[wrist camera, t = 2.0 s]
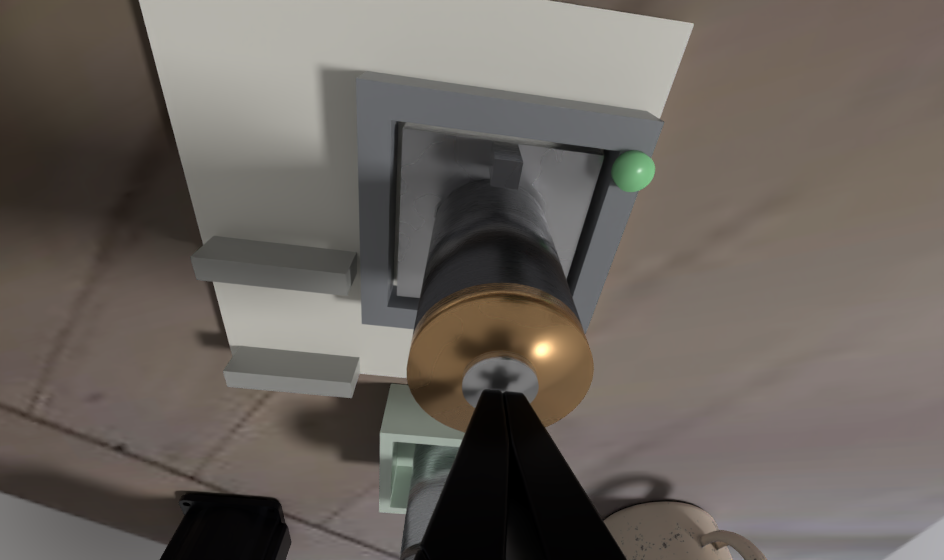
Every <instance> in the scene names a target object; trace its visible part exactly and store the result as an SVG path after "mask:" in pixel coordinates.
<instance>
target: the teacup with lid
mask: <svg viewBox="0 0 944 560" xmlns="http://www.w3.org/2000/svg"><path fill="white" fill-rule="evenodd" d="M604 523H605V525H606V526H607V528H608V529H609V531H610V533H611V534H612V536H613V537H614V539H615V541H616V542H617V544H618V546H619V547H620V549H621V550H622V552H623V554H624V555H625V557H626V559H627V560H733V559H732V557H731V555H730V552H729V550H728V548H727V546H728V545H730V546H732V547H733V548H734V549H735V550H737V551H738V552H739V553H740V555H741V556H742V557H743V558H744V559H745V560H767V558H766V557H765V556H764V555H763V553H762V552H761V551H760V550H759V549H758V548H757V547H756V546H755V545H754V544H753V543H751V542H750V541H749V540H747V539H746V538H744V537H743V536H741V535H739V534H736V533H733V532H729V531H724V530H719V529H718V526H717V524H716V522H715V521H714V519H713V518H712V517H711V516H710V515H709V514H708V513H707V512H706V511H704V510H702V509H701V508H699V507H696V506H693V505H690V504H686V503H680V502H668V501H664V502H650V503H644V504H639V505H635V506H631V507H628V508H625V509H623V510H620V511H618V512H616V513H614V514H612V515H611V516H609V517H608V518H606V519H605V520H604Z"/></svg>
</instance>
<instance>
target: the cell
mask: <svg viewBox="0 0 944 560" xmlns="http://www.w3.org/2000/svg"><path fill="white" fill-rule="evenodd" d="M406 370H407V381H408V386H409V389H410V391H411V394H412V395H413V397H414V399H415V400H416V402H417V403H418V404H419V406H420V407H421V408H422V409H423V410H424V411H425V412H426V413H427V414H428V415H430V416H431V417H432V418H434V419H435V420H437V421H438V422H440V423H442V424H444V425H446V426H448V427H450V428H453V429H455V430H458V431H461V432H464V433H465V432H466V429H467V427H468V424H469V422H470V419H471V417H472V415H473V412H474V410H475V407H476V405H477V402H478V400H479V397H480V395H481V392H482V391H483V390H484V389H491V390H500V391H501V392H502V393H503V392H505V391H512V392H521V393H523V394H524V395H525V396H526V398H527V399H528V401H529V403H530V404H531V406H532V408H533V409H534V411H535V412H536V414H537V416H538V417H539V419H540V420H541V422H542V424H543V425H544V427H547V426H549V425H551V424H553V423H555V422H557V421H559V420H560V419H562V418H564V417H565V416H566V415H568V414H569V413H570V412H571V411H573V410H574V409H575V408H576V407H577V406H578V404H579V403H580V402H581V401H582V400H583V398H584V397H585V395H586V393H587V392H588V390H589V388H590V385H591V382H592V378H593V371H594V367H593V358H592V354H591V351H590V348H589V345H588V342H587V339H586V336H585V333H584V330H583V327H582V324H581V321H580V318H579V315H578V312H577V309H576V306H575V304H574V301H573V298H572V295H571V292H570V289H569V286H568V283H567V280H566V277H565V274H564V271H563V268H562V265H561V262H560V259H559V257H558V254H557V251H556V248H555V245H554V242H553V239H552V236H551V233H550V230H549V227H548V224H547V221H546V218H545V215H544V213H543V210H542V208H541V206H540V205H539V203H538V201H537V200H536V199H535V198H534V196H533V195H532V194H530V193H529V192H528V191H527V190H525V189H524V188H523V187H521V186H519V187H518V190H516V189H509V188H501V187H493V186H490V179H481V180H476V181H473V182H470V183H467V184H465V185H463V186H461V187H459V188H458V189H456V190H455V191H453V192H452V193H451V194H450V195H449V196H448V197H447V198H446V199H445V200H444V201H443V203H442V204H441V206H440V207H439V210H438V212H437V214H436V217H435V220H434V226H433V231H432V236H431V241H430V247H429V252H428V257H427V262H426V268H425V273H424V278H423V283H422V289H421V294H420V299H419V304H418V310H417V315H416V320H415V325H414V331H413V336H412V341H411V346H410V352H409V357H408V362H407V369H406Z"/></svg>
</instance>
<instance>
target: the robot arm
mask: <svg viewBox="0 0 944 560" xmlns="http://www.w3.org/2000/svg"><path fill="white" fill-rule="evenodd" d="M179 505H180V507H181V509H182V511H183V513H184V515H185V516H184V518H183V519H182V521H181V523H180V525H179V526H178V528H177V530H176V532H175V533H174V535H173V537H172V539H171V540H170V542H169V544H168V546H167V547H166V549H165V551H164V553H163V555H162V556H161V558H160V560H286V557H287V554H288V551H289V548H290V545H291V539H290V534H289V530H288V526H287V525H286V523H285V519H284V515H283V511H282V506H281V504H280V503H279V502H277V501H271V500H258V499H244V498H231V497H217V496H204V495H190V494H185V495H183V496H182V497H181V499H180V501H179ZM414 560H627V559H626V557H625V555H624V554H623V552H622V550H621V549H620V547H619V546H618V544H617V542H616V541H615V539H614V537H613V536H612V534H611V533H610V531H609V529H608V528H607V526H606V525H605V523H604V521H603V520H602V518H601V517H600V515H599V513H598V512H597V510H596V509H595V507H594V505H593V504H592V502H591V501H590V499H589V497H588V496H587V494H586V493H585V491H584V489H583V488H582V486H581V485H580V483H579V481H578V480H577V478H576V477H575V475H574V473H573V472H572V470H571V468H570V467H569V465H568V464H567V462H566V460H565V459H564V457H563V456H562V454H561V452H560V451H559V449H558V448H557V446H556V444H555V443H554V441H553V440H552V438H551V436H550V435H549V433H548V432H547V430H546V428H545V427H544V425H543V424H542V422H541V420H540V419H539V417H538V416H537V414H536V412H535V411H534V409H533V408H532V406H531V404H530V403H529V401H528V399H527V398H526V396H525V395H524V394H523V393H521V392H512V391H505V392H503V393H502V392H501V391H500V390H491V389H484V390H483V391H482V392H481V395H480V397H479V400H478V402H477V405H476V407H475V410H474V412H473V415H472V417H471V419H470V422H469V424H468V427H467V429H466V432H465V434H464V437H463V439H462V442H461V444H460V447H459V449H458V452H457V454H456V457H455V459H454V462H453V464H452V466H451V469H450V471H449V474H448V476H447V479H446V481H445V484H444V486H443V489H442V491H441V494H440V496H439V499H438V501H437V504H436V506H435V509H434V511H433V513H432V516H431V518H430V521H429V523H428V526H427V528H426V531H425V533H424V536H423V538H422V541H421V543H420V547H419V550H417V552H416V555H415V557H414Z"/></svg>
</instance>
